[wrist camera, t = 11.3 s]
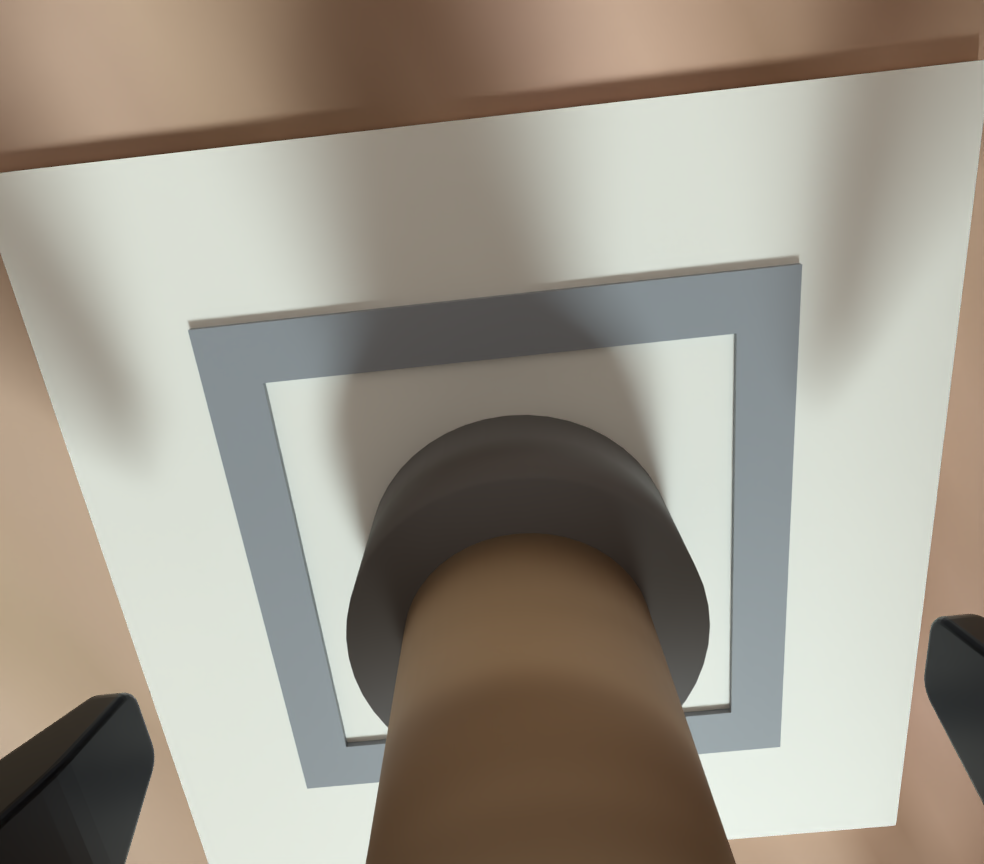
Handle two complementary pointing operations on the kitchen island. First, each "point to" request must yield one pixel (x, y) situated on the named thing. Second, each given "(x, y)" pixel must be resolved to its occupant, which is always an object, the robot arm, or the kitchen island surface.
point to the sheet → (517, 407)
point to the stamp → (532, 656)
